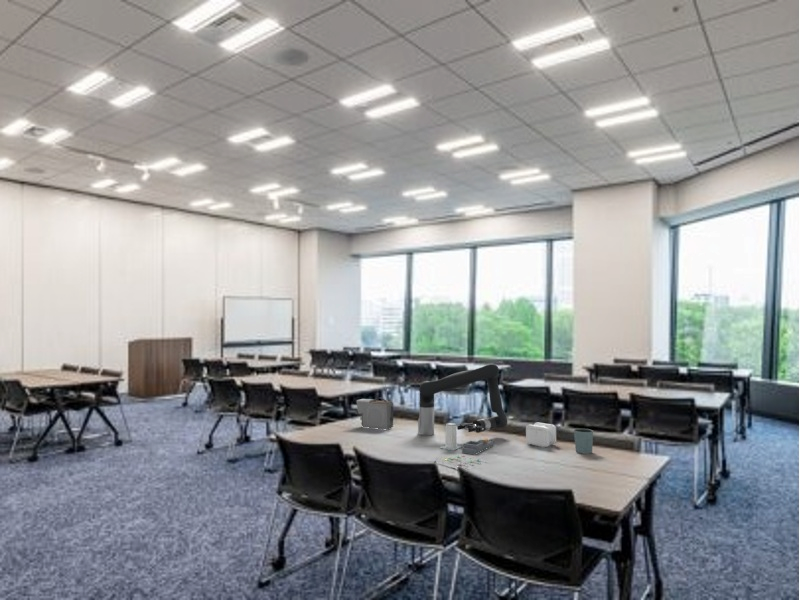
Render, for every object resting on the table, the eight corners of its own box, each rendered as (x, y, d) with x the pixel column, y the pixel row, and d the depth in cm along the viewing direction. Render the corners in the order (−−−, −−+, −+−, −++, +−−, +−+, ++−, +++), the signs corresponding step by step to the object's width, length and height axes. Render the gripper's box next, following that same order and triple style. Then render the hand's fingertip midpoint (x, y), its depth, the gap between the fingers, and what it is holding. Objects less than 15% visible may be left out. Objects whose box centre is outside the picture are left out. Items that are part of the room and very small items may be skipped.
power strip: (462, 452, 296) (462, 444, 297) (485, 442, 322) (485, 434, 322) (475, 454, 292) (475, 446, 292) (497, 443, 317) (497, 436, 317)
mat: (440, 448, 306) (440, 447, 306) (447, 445, 313) (447, 444, 313) (454, 450, 301) (454, 449, 301) (461, 447, 308) (461, 446, 308)
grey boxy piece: (363, 424, 373) (363, 380, 374) (394, 427, 364) (395, 382, 365) (354, 427, 362) (355, 382, 363) (387, 430, 353) (387, 384, 354)
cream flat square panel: (423, 460, 282) (423, 457, 282) (464, 452, 300) (464, 449, 300) (464, 473, 258) (464, 469, 258) (506, 464, 276) (506, 461, 276)
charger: (445, 446, 307) (445, 424, 307) (450, 445, 310) (450, 422, 311) (452, 448, 304) (452, 425, 304) (456, 446, 307) (456, 423, 308)
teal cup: (593, 455, 291) (592, 432, 292) (573, 453, 295) (573, 431, 295) (593, 450, 301) (593, 429, 301) (574, 449, 304) (574, 427, 305)
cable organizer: (557, 445, 313) (557, 425, 314) (547, 448, 306) (547, 428, 306) (535, 441, 324) (535, 421, 325) (525, 444, 317) (525, 424, 317)
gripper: (472, 417, 330) (454, 420, 320) (490, 420, 320) (472, 424, 309) (472, 429, 330) (454, 433, 319) (490, 433, 319) (472, 437, 309)
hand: (463, 429), depth 314 cm, fingers open, 8 cm apart
